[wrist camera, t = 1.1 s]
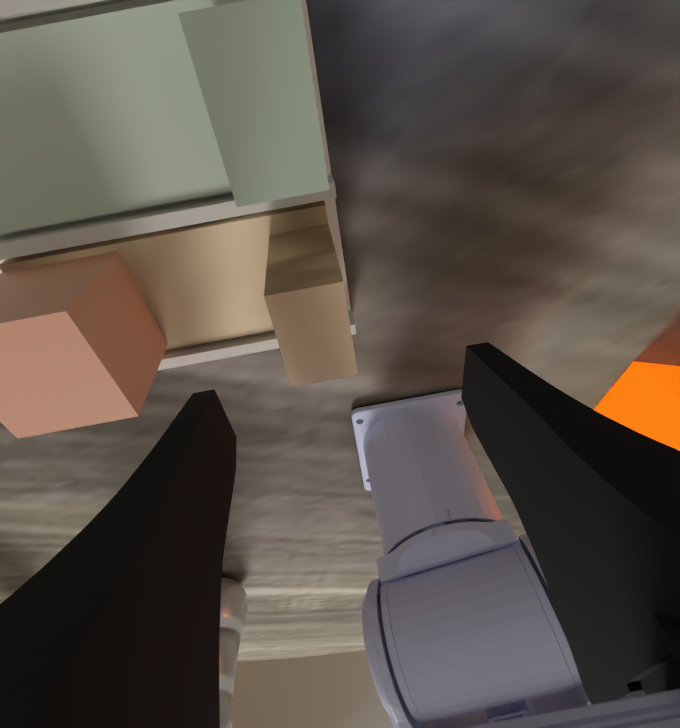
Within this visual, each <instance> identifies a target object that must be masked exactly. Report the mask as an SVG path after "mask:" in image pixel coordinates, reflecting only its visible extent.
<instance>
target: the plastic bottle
mask: <svg viewBox="0 0 680 728" xmlns="http://www.w3.org/2000/svg"><path fill="white" fill-rule="evenodd" d="M246 613H247V598H246V592H245V590H244V588H243V586H242V585H241V584H240V583H239V582H238V581H235V580H233V579H229V578H222V584H221V607H220V646H219V702H220V728H232V714H233V697H232V694H233V691H234V676H235V669H236V663H237V656H238V650H239V644H240V636H241V635H242V631H243V628H244V623H245V618H246Z"/></svg>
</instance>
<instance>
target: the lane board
mask: <svg viewBox="0 0 680 728" xmlns="http://www.w3.org/2000/svg"><path fill="white" fill-rule="evenodd" d="M169 1H175V0H0V33H3V32H9V31H14V30H19V29H25V28H30V27H35V26H41V25H46V24H51V23H57V22H62V21H67V20H73V19H78V18H84V17H89V16H94V15H100V14H105V13H110V12H116V11H121V10H126V9H132V8H137V7H142V6H148V5H153V4H159V3H164V2H169ZM301 5H302V12H303V19H304V25H305V32H306V38H307V45H308V52H309V58H310V65H311V71H312V78H313V84H314V91H315V98H316V104H317V111H318V117H319V124H320V130H321V137H322V144H323V150H324V157H325V163H326V170H327V177H328V183H329V190H328V191H322V192H317V193H311V194H306V195H301V196H295V197H290V198H284V199H279V200H273V201H268V202H263V203H257V204H252V205H246V206H241V207H237V206H236V203H235V200H234V197H233V193H232V191H228V192H223V193H217V194H212V195H206V196H201V197H196V198H190V199H185V200H179V201H174V202H169V203H163V204H158V205H152V206H147V207H142V208H136V209H131V210H125V211H120V212H115V213H109V214H104V215H98V216H93V217H88V218H82V219H77V220H71V221H66V222H61V223H55V224H50V225H44V226H39V227H34V228H28V229H23V230H17V231H12V232H7V233H1V234H0V264H1V263H2V262H4V261H5V260H6V259H10V258H15V257H20V256H26V255H31V254H37V253H42V252H47V251H53V250H58V249H64V248H69V247H74V246H80V245H85V244H91V243H96V242H101V241H107V240H112V239H118V238H123V237H128V236H134V235H139V234H145V233H150V232H155V231H161V230H166V229H172V228H177V227H183V226H188V225H193V224H199V223H204V222H210V221H215V220H220V219H226V218H231V217H237V216H242V215H247V214H253V213H258V212H264V211H269V210H274V209H280V208H285V207H291V206H296V205H301V204H307V203H312V202H318V201H323V200H324V202H325V206H326V212H327V219H328V225H329V228H330V232H331V236H332V240H333V244H334V247H335V251H336V255H337V259H338V263H339V266H340V270H341V274H342V278H343V282H344V288H345V295H346V302H347V308H348V315H349V321H350V328H351V334H352V335H353V334H356V329H355V323H354V319H353V315H352V312H351V306H350V299H349V292H348V285H347V278H346V271H345V264H344V258H343V251H342V244H341V237H340V230H339V223H338V216H337V209H336V203H335V198H337V195H336V188H335V182H334V179H333V177H332V174H331V168H330V161H329V155H328V148H327V141H326V134H325V127H324V120H323V113H322V106H321V100H320V93H319V86H318V79H317V72H316V65H315V58H314V51H313V45H312V38H311V31H310V24H309V17H308V10H307V3H306V0H301ZM1 273H2V271H1V270H0V274H1ZM277 348H279V344H278V341H277V338H276V335H275V331H274V330H273V331H268V332H262V333H257V334H251V335H246V336H241V337H235V338H230V339H224V340H219V341H213V342H208V343H203V344H197V345H192V346H186V347H181V348H175V349H170V350H166V351H165V353H164V355H163V358H162V360H161V363H160V365H159V368H158V370H163V369H168V368H174V367H179V366H185V365H190V364H196V363H201V362H206V361H212V360H217V359H223V358H228V357H234V356H239V355H244V354H250V353H255V352H261V351H266V350H272V349H277ZM158 370H157V371H158Z"/></svg>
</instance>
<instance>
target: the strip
mask: <svg viewBox="0 0 680 728" xmlns="http://www.w3.org/2000/svg"><path fill="white" fill-rule="evenodd" d="M328 190H329V183H328V177H327V170H326V163H325V157H324V150H323V144H322V137H321V130H320V124H319V117H318V111H317V104H316V98H315V91H314V84H313V78H312V71H311V65H310V58H309V52H308V45H307V38H306V32H305V25H304V19H303V12H302V5H301V0H175V1H169V2H164V3H159V4H153V5H148V6H142V7H137V8H132V9H126V10H121V11H116V12H110V13H105V14H100V15H94V16H89V17H84V18H78V19H73V20H67V21H62V22H57V23H51V24H46V25H41V26H35V27H30V28H25V29H19V30H14V31H9V32H3V33H0V234H1V233H7V232H12V231H17V230H23V229H28V228H34V227H39V226H44V225H50V224H55V223H61V222H66V221H71V220H77V219H82V218H88V217H93V216H98V215H104V214H109V213H115V212H120V211H125V210H131V209H136V208H142V207H147V206H152V205H158V204H163V203H169V202H174V201H179V200H185V199H190V198H196V197H201V196H206V195H212V194H217V193H223V192H228V191H232V193H233V197H234V200H235V203H236V206H237V207H241V206H246V205H252V204H257V203H263V202H268V201H273V200H279V199H284V198H290V197H295V196H301V195H306V194H311V193H317V192H322V191H328Z"/></svg>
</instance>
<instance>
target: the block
mask: <svg viewBox="0 0 680 728" xmlns="http://www.w3.org/2000/svg"><path fill="white" fill-rule="evenodd" d="M167 346H168V344H167V342H166V340H165V338H164V337H163V335H162V333H161V331H160V329H159V327H158V325H157V323H156V321H155V320H154V318H153V316H152V314H151V312H150V310H149V308H148V306H147V305H146V303H145V301H144V299H143V297H142V295H141V293H140V291H139V289H138V288H137V286H136V284H135V282H134V280H133V278H132V276H131V274H130V273H129V271H128V269H127V267H126V265H125V263H124V261H123V259H122V257H121V256H120V254H119V252H118V251H115V252H110V253H104V254H99V255H93V256H88V257H83V258H77V259H72V260H66V261H61V262H56V263H50V264H45V265H39V266H34V267H29V268H23V269H18V270H12V271H7V272H2V273H1V274H0V422H1V423H2V424H3V425H4V426H5V427H6V428H7V429H8V430H9V431H10V432H11V433H12V434H13V435H15V436H16V437H17V438H23V437H28V436H34V435H39V434H45V433H50V432H55V431H61V430H66V429H72V428H77V427H83V426H88V425H94V424H99V423H104V422H110V421H115V420H121V419H126V418H132V417H137V416H139V414H140V412H141V409H142V407H143V404H144V402H145V400H146V397H147V395H148V392H149V390H150V387H151V385H152V382H153V380H154V377H155V375H156V373H157V370H158V368H159V365H160V363H161V360H162V358H163V355H164V353H165V351H166V348H167Z"/></svg>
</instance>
